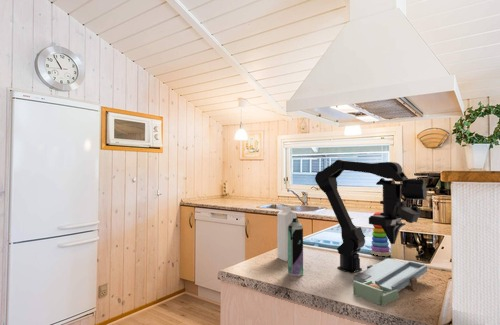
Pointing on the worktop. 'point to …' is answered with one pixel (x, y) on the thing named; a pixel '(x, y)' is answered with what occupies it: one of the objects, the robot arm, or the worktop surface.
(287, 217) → the milk
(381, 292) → the tray
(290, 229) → the spray can
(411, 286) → the stand
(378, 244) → the stacking toy
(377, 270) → the grey flat rectangular piece
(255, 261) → the worktop surface
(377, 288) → the ball
